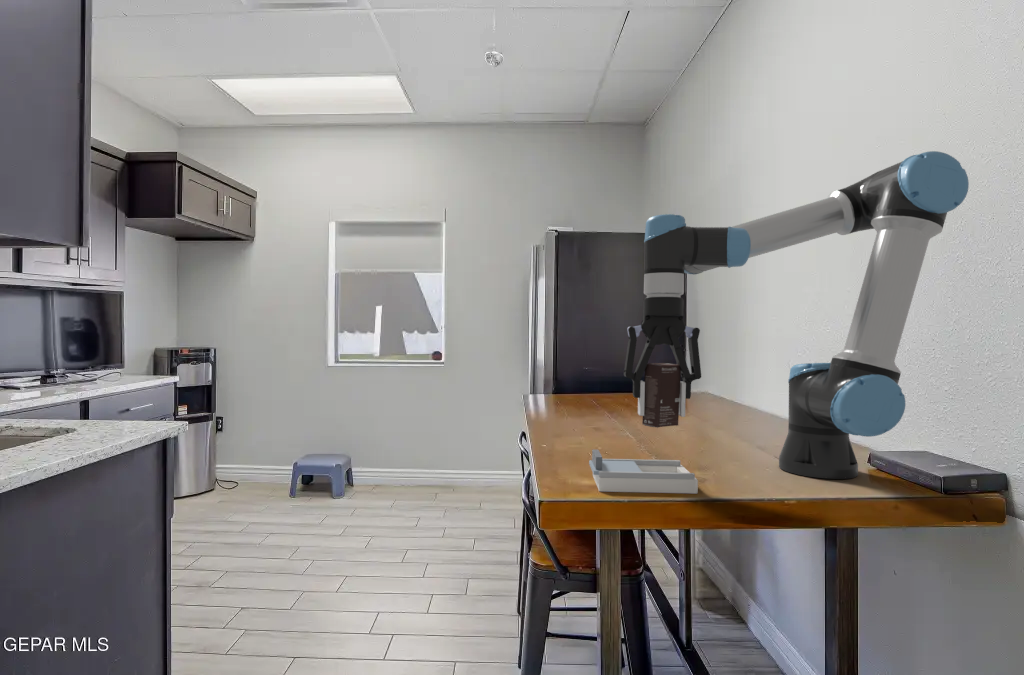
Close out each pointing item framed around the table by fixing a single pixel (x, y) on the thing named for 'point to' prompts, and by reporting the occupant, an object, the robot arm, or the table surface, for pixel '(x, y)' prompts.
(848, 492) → the table surface
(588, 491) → the table surface
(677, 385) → the box
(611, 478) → the socket plate
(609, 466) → the panel
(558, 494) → the table surface
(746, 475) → the table surface
